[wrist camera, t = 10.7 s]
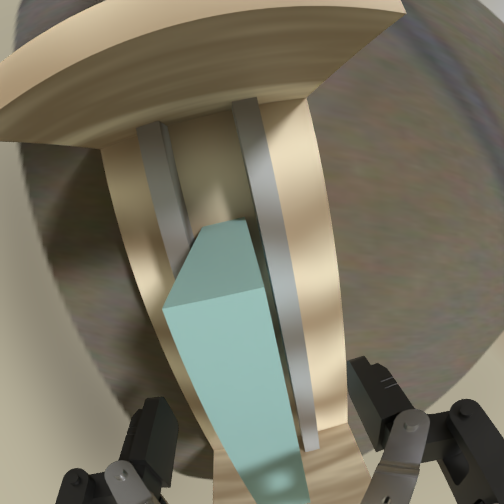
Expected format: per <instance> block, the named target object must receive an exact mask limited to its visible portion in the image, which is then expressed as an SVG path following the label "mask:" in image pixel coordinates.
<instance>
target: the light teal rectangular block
mask: <svg viewBox="0 0 504 504" xmlns="http://www.w3.org/2000/svg"><path fill="white" fill-rule="evenodd" d="M162 310H163V313H164V316H165V318H166V321H167V324H168V326H169V329H170V331H171V334H172V337H173V339H174V342H175V344H176V347H177V349H178V351H179V354H180V356H181V359H182V361H183V363H184V366H185V368H186V370H187V373H188V375H189V377H190V379H191V382H192V384H193V386H194V388H195V390H196V393H197V395H198V397H199V399H200V401H201V403H202V405H203V407H204V410H205V412H206V414H207V416H208V418H209V420H210V422H211V424H212V426H213V428H214V430H215V432H216V434H217V435H218V437H219V439H220V441H221V443H222V445H223V447H224V449H225V451H226V452H227V454H228V456H229V458H230V460H231V461H232V463H233V465H234V467H235V468H236V470H237V472H238V474H239V475H240V477H241V479H242V480H243V482H244V484H245V485H246V487H247V489H248V490H249V492H250V494H251V495H252V497H253V498H254V500H255V502H256V503H257V504H306V503H311V501H310V496H309V492H308V487H307V482H306V477H305V473H304V468H303V463H302V459H301V454H300V449H299V444H298V440H297V435H296V430H295V426H294V421H293V416H292V412H291V407H290V402H289V398H288V393H287V388H286V384H285V379H284V375H283V370H282V365H281V361H280V356H279V351H278V347H277V342H276V338H275V333H274V329H273V324H272V319H271V315H270V310H269V306H268V301H267V297H266V292H265V288H264V284H263V280H262V277H261V273H260V269H259V266H258V262H257V259H256V255H255V252H254V248H253V244H252V241H251V237H250V234H249V230H248V226H247V223H246V219H245V217H242V218H238V219H233V220H229V221H225V222H221V223H216V224H212V225H208V226H204V227H202V229H201V230H200V232H199V234H198V236H197V238H196V240H195V242H194V244H193V246H192V248H191V250H190V252H189V254H188V256H187V258H186V260H185V262H184V264H183V266H182V268H181V270H180V272H179V274H178V276H177V278H176V280H175V282H174V284H173V287H172V289H171V291H170V293H169V295H168V297H167V299H166V301H165V303H164V306H163V308H162Z"/></svg>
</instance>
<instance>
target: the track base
mask: <svg viewBox="0 0 504 504" xmlns="http://www.w3.org/2000/svg"><path fill="white" fill-rule="evenodd" d="M405 14H406V11H405V9H404V7H403V5H402V3H401V0H106V1H103V2H101V3H99V4H97V5H94V6H92V7H90V8H88V9H86V10H84V11H82V12H80V13H78V14H76V15H74V16H72V17H70V18H68V19H66V20H64V21H63V22H61V23H59V24H57V25H55V26H54V27H52V28H50V29H49V30H47V31H45V32H44V33H42V34H40V35H39V36H37V37H36V38H34V39H33V40H31V41H30V42H28V43H27V44H25V45H24V46H22V47H21V48H19V49H18V50H17V51H15V52H14V53H12V54H11V55H10V56H8V57H7V58H6V59H5V60H3V61H2V62H1V63H0V141H3V142H25V143H41V144H54V145H65V146H75V147H85V148H94V149H100V150H101V155H102V160H103V165H104V169H105V174H106V178H107V183H108V187H109V191H110V195H111V199H112V203H113V207H114V211H115V214H116V218H117V222H118V225H119V229H120V232H121V235H122V239H123V242H124V245H125V249H126V252H127V255H128V258H129V261H130V264H131V267H132V270H133V273H134V276H135V279H136V282H137V285H138V288H139V290H140V293H141V296H142V299H143V301H144V304H145V307H146V309H147V312H148V315H149V317H150V320H151V322H152V325H153V327H154V330H155V332H156V335H157V337H158V339H159V342H160V344H161V346H162V349H163V351H164V353H165V356H166V358H167V360H168V362H169V365H170V367H171V369H172V371H173V373H174V375H175V378H176V380H177V382H178V384H179V386H180V388H181V390H182V392H183V394H184V396H185V398H186V400H187V402H188V404H189V406H190V408H191V410H192V412H193V414H194V416H195V418H196V419H197V421H198V423H199V425H200V427H201V429H202V430H203V432H204V434H205V436H206V438H207V439H208V441H209V443H210V445H211V446H212V448H213V450H214V465H213V504H257V503H256V502H255V500H254V498H253V497H252V495H251V494H250V492H249V490H248V489H247V487H246V485H245V484H244V482H243V480H242V479H241V477H240V475H239V474H238V472H237V470H236V468H235V467H234V465H233V463H232V461H231V460H230V458H229V456H228V454H227V452H226V451H225V449H224V447H223V445H222V443H221V441H220V439H219V437H218V435H217V434H216V432H215V430H214V428H213V426H212V424H211V422H210V420H209V418H208V416H207V414H206V412H205V410H204V407H203V405H202V403H201V401H200V399H199V397H198V395H197V393H196V390H195V388H194V386H193V384H192V382H191V379H190V377H189V375H188V373H187V370H186V368H185V366H184V363H183V361H182V359H181V356H180V354H179V351H178V349H177V347H176V344H175V342H174V339H173V337H172V334H171V331H170V329H169V326H168V324H167V321H166V318H165V316H164V313H163V310H162V308H163V306H164V303H165V301H166V299H167V297H168V295H169V293H170V291H171V289H172V287H173V284H174V282H175V280H176V278H177V276H178V274H179V272H180V270H181V268H182V266H183V264H184V262H185V260H186V258H187V256H188V254H189V252H190V250H191V248H192V246H193V244H194V242H195V240H196V238H197V236H198V234H199V232H200V230H201V229H202V227H204V226H208V225H212V224H216V223H221V222H225V221H229V220H233V219H238V218H242V217H245V219H246V223H247V226H248V230H249V234H250V237H251V241H252V244H253V248H254V252H255V255H256V259H257V262H258V266H259V269H260V273H261V277H262V280H263V284H264V288H265V292H266V297H267V301H268V306H269V310H270V315H271V319H272V324H273V329H274V333H275V338H276V342H277V347H278V351H279V356H280V361H281V365H282V370H283V375H284V379H285V384H286V388H287V393H288V398H289V402H290V407H291V412H292V416H293V421H294V426H295V430H296V435H297V440H298V444H299V449H300V454H301V459H302V463H303V468H304V473H305V477H306V482H307V487H308V492H309V496H310V501H311V503H306V504H360V503H361V501H362V499H363V497H364V495H365V493H366V491H367V488H368V486H369V484H370V482H371V477H370V474H369V472H368V470H367V467H366V465H365V462H364V460H363V458H362V455H361V453H360V450H359V448H358V446H357V443H356V441H355V439H354V436H353V434H352V432H351V429H350V427H349V425H348V423H347V377H346V356H345V340H344V326H343V314H342V303H341V293H340V284H339V275H338V266H337V258H336V251H335V243H334V236H333V229H332V223H331V216H330V210H329V204H328V198H327V192H326V187H325V181H324V176H323V171H322V166H321V160H320V156H319V151H318V146H317V141H316V137H315V132H314V128H313V123H312V119H311V115H310V111H309V106H308V102H307V97H308V96H309V95H310V94H311V93H312V92H313V91H314V90H315V89H316V88H317V87H319V86H320V85H321V84H322V83H323V82H324V81H325V80H326V79H327V78H329V77H330V76H331V75H332V74H333V73H334V72H335V71H336V70H338V69H339V68H340V67H341V66H342V65H343V64H344V63H346V62H347V61H348V60H349V59H350V58H351V57H353V56H354V55H355V54H356V53H357V52H359V51H360V50H361V49H362V48H363V47H365V46H366V45H367V44H368V43H369V42H371V41H372V40H373V39H374V38H376V37H377V36H378V35H379V34H381V33H382V32H383V31H384V30H386V29H387V28H388V27H390V26H391V25H392V24H393V23H395V22H396V21H397V20H399V19H400V18H401V17H403V16H404V15H405Z"/></svg>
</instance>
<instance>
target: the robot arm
mask: <svg viewBox="0 0 504 504" xmlns="http://www.w3.org/2000/svg"><path fill="white" fill-rule="evenodd" d="M347 386H348V392H349V395H350V398H351V400H352V402H353V404H354V406H355V408H356V410H357V413H358V415H359V417H360V419H361V421H362V423H363V425H364V427H365V430H366V432H367V434H368V436H369V438H370V440H371V442H372V445H373V447H374V449H375V451H376V452H378V451H381V450H383V449H384V453H383V455H382V458H381V461H380V463H379V464H378V466H377V468H376V470H375V472H374V475H373V477H372V479H371V482H370V484H369V486H368V488H367V491H366V493H365V495H364V497H363V499H362V501H361V503H360V504H409V502H410V499H411V497H412V494H413V491H414V487H415V485H416V482H417V478H418V475H419V470H420V469H419V467H420V463H424V462H429V461H434V460H437V462H438V464H439V466H440V468H441V470H442V472H443V474H444V476H445V478H446V480H447V482H448V485H449V486H450V489H451V491H452V493H453V495H454V497H455V499H456V502H457V504H504V439H503V437H502V436H501V434H500V433H499V431H498V430H497V428H496V427H495V426H494V424H493V423H492V421H491V420H490V419H489V417H488V416H487V415H486V413H485V412H484V410H483V409H482V408H481V407H480V405H479V404H478V403H477V402H476V401H474V400H471V399H462V400H459V401H457V402H455V403H454V404H453V405H452V407H451V409H450V411H446V412H441V413H436V414H426V413H425V412H423V411H421V410H418V409H415V408H414V407H413V406H412V404H411V403H410V401H409V400H408V398H407V397H406V395H405V394H404V392H403V391H402V389H401V388H400V386H399V385H397V382H396V381H395V379H394V378H393V376H392V375H391V373H390V372H389V371H388V369H387V368H385V367H384V366H382V365H380V364H379V363H376V364H374V365H370V363H369V362H368V360H367V359H366V357H365V356H361V357H358V358H355V359H352V360H349V361H347ZM177 437H178V422H177V419H176V417H175V415H174V414H173V412H172V410H171V408H170V407H169V405H168V403H167V401H166V400H165V398H164V397H154V398H147V399H146V400H145V403H144V406H143V409H138V411H137V412H136V413H135V414H134V416H133V417H132V419H131V422H130V425H129V428H128V431H127V435H126V438H125V441H124V444H123V447H122V451H121V454H120V458H119V460H118V461H116V462H113V463H111V464H110V465H109V466H108V467H107V469H106V471H105V472H102V473H96V474H91V475H89V474H88V473H86V472H85V471H84V470H83V469H79V468H75V469H71V470H70V471H68V472H67V473H66V474H65V476H64V478H63V481H62V484H61V487H60V490H59V494H58V497H57V500H56V503H55V504H168V502H167V501H166V500H165V498H164V497H163V496H162V495H161V494H160V493H161V487H168V488H169V487H171V479H172V472H173V464H174V457H175V450H176V443H177Z"/></svg>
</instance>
